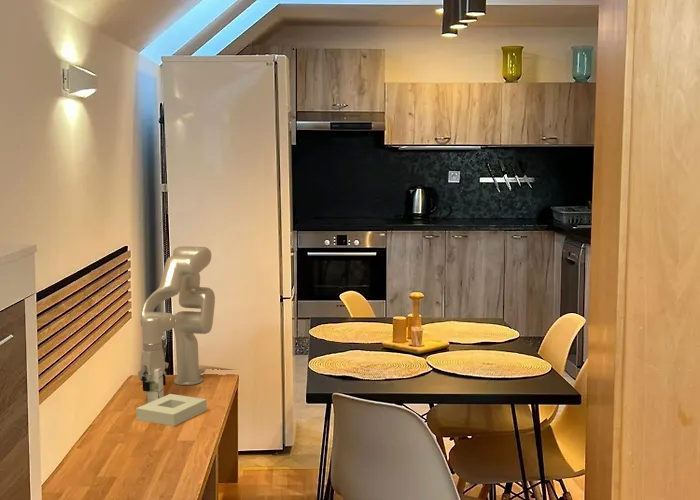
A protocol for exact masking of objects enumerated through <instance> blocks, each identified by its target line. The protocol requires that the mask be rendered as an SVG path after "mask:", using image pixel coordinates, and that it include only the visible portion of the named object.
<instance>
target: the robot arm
mask: <svg viewBox="0 0 700 500" xmlns="http://www.w3.org/2000/svg"><path fill="white" fill-rule="evenodd" d="M211 261H212V251H211V250H210V249H209V248H208V247H205V246H189V245H188V246H187V245H186V246H184V245H183V246H178V247H175V248H174V249H173V250H172V255H171V256H168V258H166V261H165V263H164V264H165V265H164V268H163V272H162V276H161V279H160V283H159V286H158V288H157V289H156V290H155V291H154V292H152V293H151V294H150V295H149V296H148V297H147V298H146V300H145V302H144V304H143V306H142V310H141V314H140V319H139V320H140V321H139V322H140V326H141V331H142V333H141V334H142V335H141V336H142V351H141V356H140V370H139V371H138V372H137V376H138V378H139V380H140V381H141V382H142V392H146V391H147V392H149V391H150V382H148V381H149V378H150V376H153V375H154V371H155V370H156V369H158V368H161V370H162V372H163V386H166V384H167V383H166V375H167V372H168V368H169V365H170V363H169V362H166V360H165V353H164V349H163V338H162V337H163V336H162V333H163V332H168V331H171V330H173V332H174V338H175V356H176V357H175V358H176V377H175V378H174V379H173V383H174V384H175V385H177V386H194V385H197V384H200V383H202V382H203V381H204V378H203V377H202V376H201V375H202V374H203V373H205V372H206V369H205V368H201V369H200V367H199V365H200V363H199V362H200V361H199V344H198V339H197V336H196V335H195V334H197V335H198V334H200V335H206V334H207V335H208V334H209V333H210V332H211V331H212V328H213V323H214V315H215V307H216V306H215V305H216V296H215V292H214V290H213V289H212V288H210V287H205V286H201V285H200V284H201V274H200V272H202V271H203V270H204V269H206V268H207V267H208V266H209V264H210V263H211ZM176 295H178V304H179V306H180V307H181V308H184V309H199V310H200V311H194V310H193V311H192V310H191V311H190V310H188V311H187V310H185V311H184V310H183V311H177V312H176V313H175V314H173V313H171V312H162V311H161V312H159V311H155V309H156V307H157V306H158V305H159V304H161V303H162V302H164V301H167V300H168V299H171V298H173V297H175V296H176ZM146 373H148V374H146ZM146 376H147V378H145V377H146Z"/></svg>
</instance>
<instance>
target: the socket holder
mask: <svg viewBox="0 0 700 500" xmlns="http://www.w3.org/2000/svg"><path fill="white" fill-rule="evenodd" d="M207 405H208V404H207V399H206V398H201V397H193V396H188V395H182V394H181V395H180V394H173V393H169V394H167V395H164V397H161V398H159V399H157V400H154V401H152V402H150V403H145V404H143V405H140V406H139V407H135V412H136V420H137V421H143V422H148V423H154V424H157V425H158V424H160V425H165V426H171V427H176V426H178V425H179V424H182V423H184V422H186V421H188V420H190V419H192V418H194V417H196V416H198V415H201V414H202V413H204V412H206V411H208V407H207Z"/></svg>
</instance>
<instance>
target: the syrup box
mask: <svg viewBox="0 0 700 500" xmlns="http://www.w3.org/2000/svg"><path fill="white" fill-rule="evenodd" d="M146 374H148V373H146ZM145 378H147V376H146V377H145ZM148 382H150V391H149V392H147V391H145V396H146V399H145V400H146V403H145V404H147V403H150V402H152V401H154V400H157V399H159V398H161V397H164V396H165V395H164V392H165V391H164V385H163V372H162V370H161V368H158V369H156V370H155V371H154V375H153V376H150V378H149V381H148Z"/></svg>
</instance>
